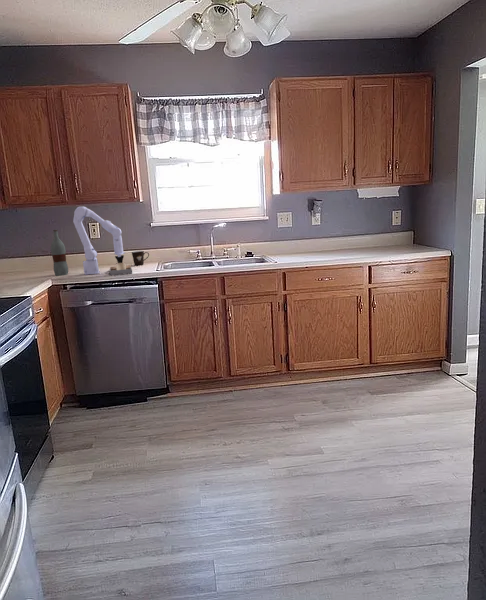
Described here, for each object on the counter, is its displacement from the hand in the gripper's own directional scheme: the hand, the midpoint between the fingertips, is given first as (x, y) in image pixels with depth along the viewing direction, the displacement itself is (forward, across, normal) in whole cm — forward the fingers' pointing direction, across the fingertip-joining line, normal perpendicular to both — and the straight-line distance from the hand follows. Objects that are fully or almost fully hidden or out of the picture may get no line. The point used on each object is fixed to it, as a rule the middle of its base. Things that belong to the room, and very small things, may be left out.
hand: (120, 266), depth 311 cm
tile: (+1, -3, 0) cm, 3 cm away
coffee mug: (+4, +24, -14) cm, 28 cm away
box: (+3, -8, 0) cm, 9 cm away
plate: (+3, +3, 0) cm, 5 cm away
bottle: (+4, +10, +39) cm, 41 cm away
